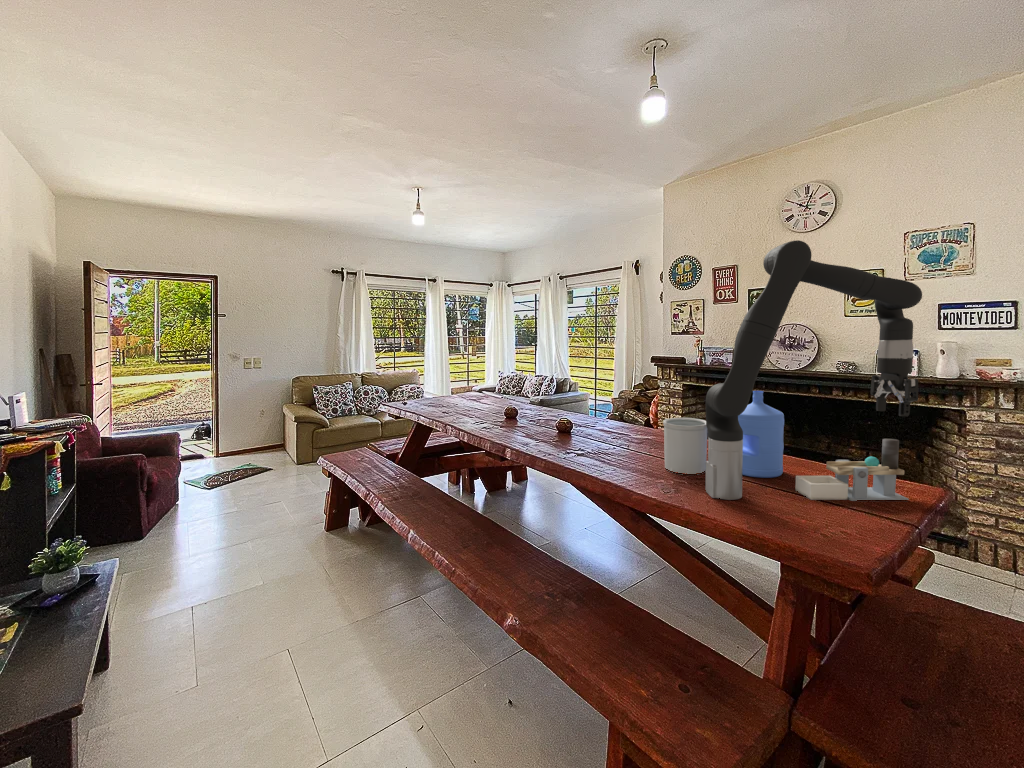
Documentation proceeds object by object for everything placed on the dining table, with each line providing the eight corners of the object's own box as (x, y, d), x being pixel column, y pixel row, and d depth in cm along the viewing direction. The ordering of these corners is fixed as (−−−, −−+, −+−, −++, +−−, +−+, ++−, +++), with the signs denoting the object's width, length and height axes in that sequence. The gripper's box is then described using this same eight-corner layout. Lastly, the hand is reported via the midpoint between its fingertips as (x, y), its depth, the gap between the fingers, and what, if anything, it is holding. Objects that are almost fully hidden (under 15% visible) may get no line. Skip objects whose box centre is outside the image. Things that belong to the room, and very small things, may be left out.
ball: (869, 469, 125) (870, 458, 125) (861, 465, 128) (862, 455, 128) (881, 469, 125) (882, 458, 124) (873, 465, 128) (874, 455, 128)
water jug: (769, 465, 159) (771, 388, 156) (792, 478, 144) (794, 393, 141) (724, 465, 161) (725, 389, 158) (742, 478, 145) (743, 394, 143)
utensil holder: (715, 475, 150) (715, 424, 148) (671, 476, 150) (671, 425, 149) (697, 463, 165) (698, 417, 163) (657, 464, 165) (657, 418, 163)
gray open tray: (810, 499, 125) (811, 484, 125) (795, 490, 133) (795, 475, 133) (847, 499, 124) (848, 484, 124) (829, 490, 132) (830, 475, 132)
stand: (850, 500, 123) (852, 468, 122) (829, 489, 133) (830, 459, 132) (908, 500, 122) (910, 468, 121) (883, 489, 131) (884, 459, 131)
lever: (839, 475, 125) (840, 443, 124) (826, 468, 131) (827, 438, 130) (904, 474, 123) (906, 442, 122) (887, 468, 129) (889, 437, 128)
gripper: (862, 355, 130) (860, 409, 132) (900, 357, 116) (897, 418, 118) (890, 354, 130) (887, 409, 131) (930, 356, 116) (927, 417, 117)
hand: (892, 413), depth 125 cm, fingers open, 8 cm apart
